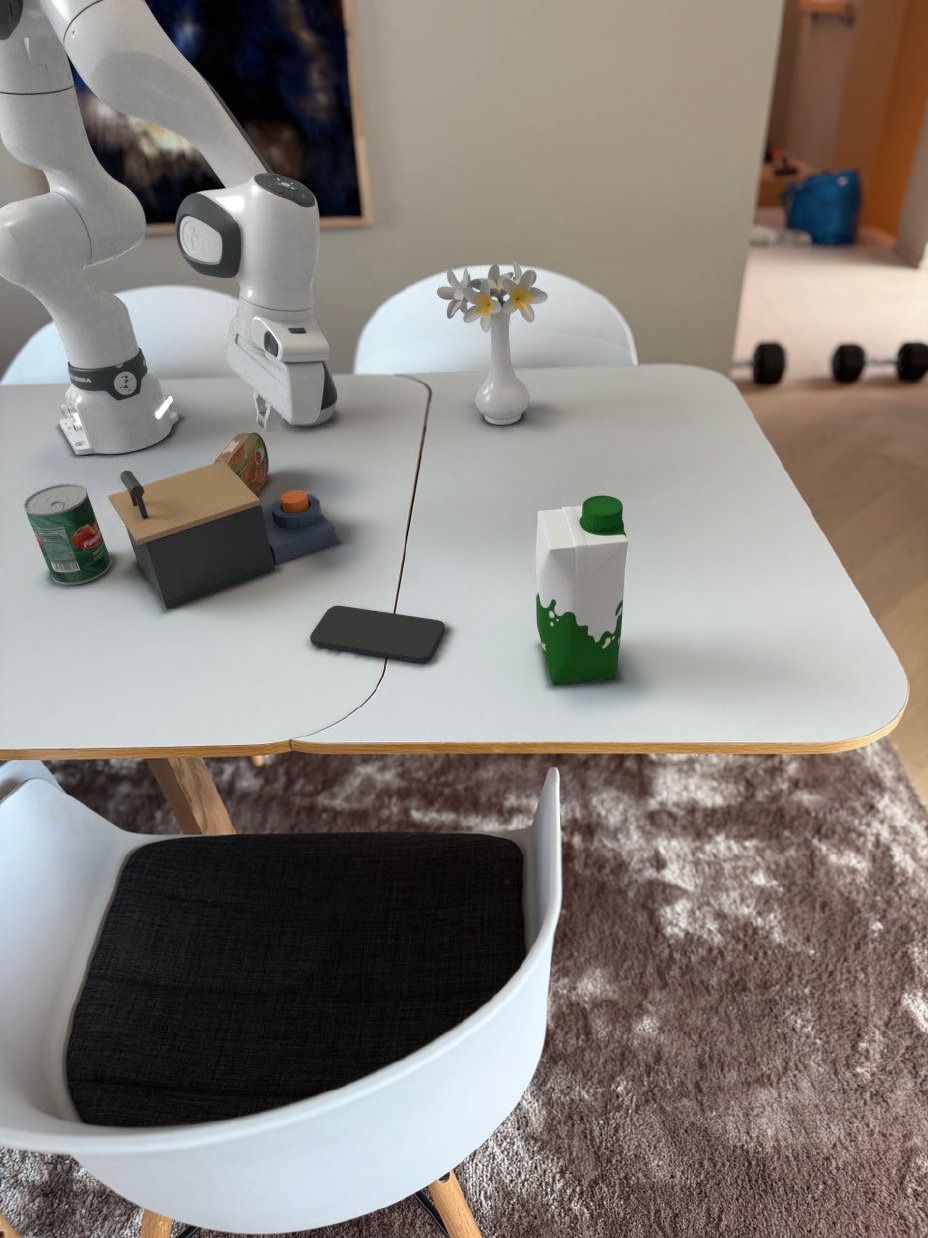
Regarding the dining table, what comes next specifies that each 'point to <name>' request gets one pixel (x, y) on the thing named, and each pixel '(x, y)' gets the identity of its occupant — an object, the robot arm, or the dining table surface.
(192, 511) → the lid
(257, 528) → the dark grey bin
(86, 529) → the canned tomato
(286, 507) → the release button
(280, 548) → the panel
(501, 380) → the flower vase
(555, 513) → the milk carton
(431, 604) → the dining table surface
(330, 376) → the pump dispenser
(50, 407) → the dining table surface
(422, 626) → the phone
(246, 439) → the tin
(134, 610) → the dining table surface
